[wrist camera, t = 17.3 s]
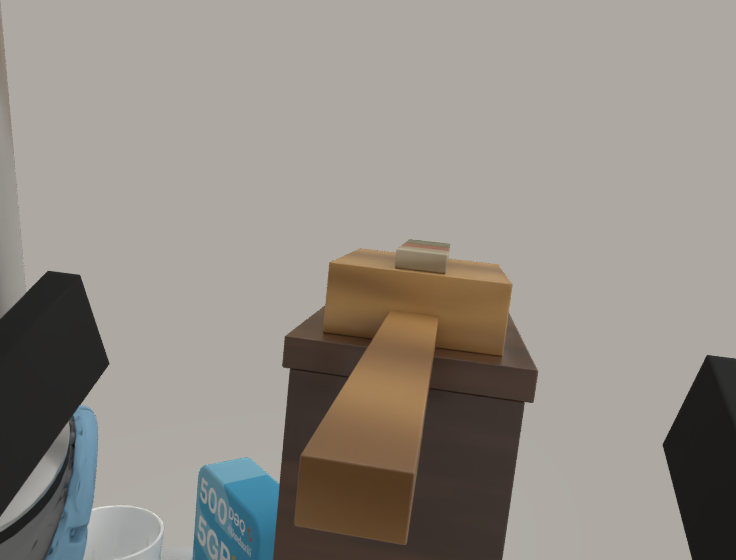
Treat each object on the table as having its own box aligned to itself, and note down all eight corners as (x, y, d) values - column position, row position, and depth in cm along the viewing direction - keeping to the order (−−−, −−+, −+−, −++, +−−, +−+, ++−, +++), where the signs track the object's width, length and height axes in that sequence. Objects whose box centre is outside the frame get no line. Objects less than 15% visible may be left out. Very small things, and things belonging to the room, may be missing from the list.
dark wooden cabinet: (457, 925, 32) (538, 370, 28) (237, 869, 34) (284, 335, 30) (456, 659, 51) (505, 304, 47) (315, 632, 52) (350, 285, 48)
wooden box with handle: (570, 575, 12) (607, 351, 12) (145, 500, 13) (158, 292, 13) (491, 319, 40) (500, 248, 39) (354, 301, 41) (361, 233, 40)
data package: (190, 581, 57) (198, 459, 55) (234, 567, 60) (244, 451, 58) (247, 667, 48) (259, 523, 46) (297, 645, 50) (311, 509, 49)
